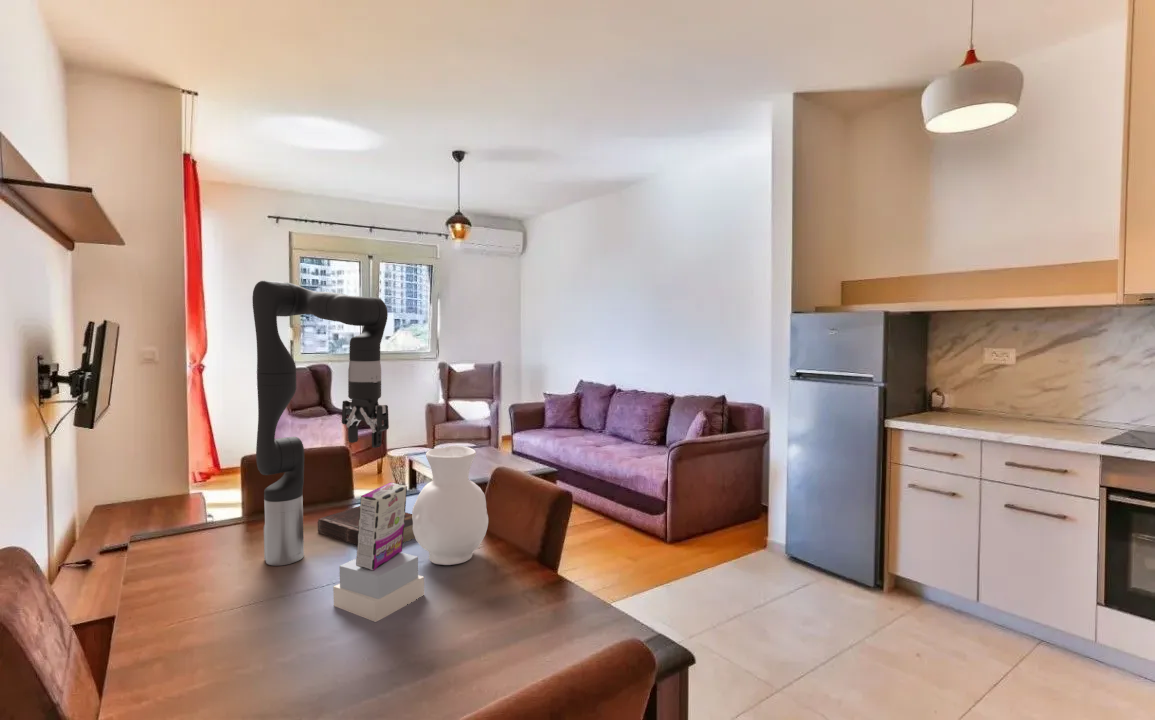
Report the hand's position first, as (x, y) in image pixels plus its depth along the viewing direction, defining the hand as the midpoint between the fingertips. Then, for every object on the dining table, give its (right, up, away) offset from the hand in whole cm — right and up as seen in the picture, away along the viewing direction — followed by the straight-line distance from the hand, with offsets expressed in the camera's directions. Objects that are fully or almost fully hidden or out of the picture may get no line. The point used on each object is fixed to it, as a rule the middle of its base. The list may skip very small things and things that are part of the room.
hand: (364, 444), depth 136 cm
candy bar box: (+7, -25, -9) cm, 27 cm away
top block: (+7, -30, -9) cm, 32 cm away
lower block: (+7, -35, -8) cm, 37 cm away
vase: (+18, -34, +15) cm, 41 cm away
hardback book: (-11, -33, +36) cm, 50 cm away
